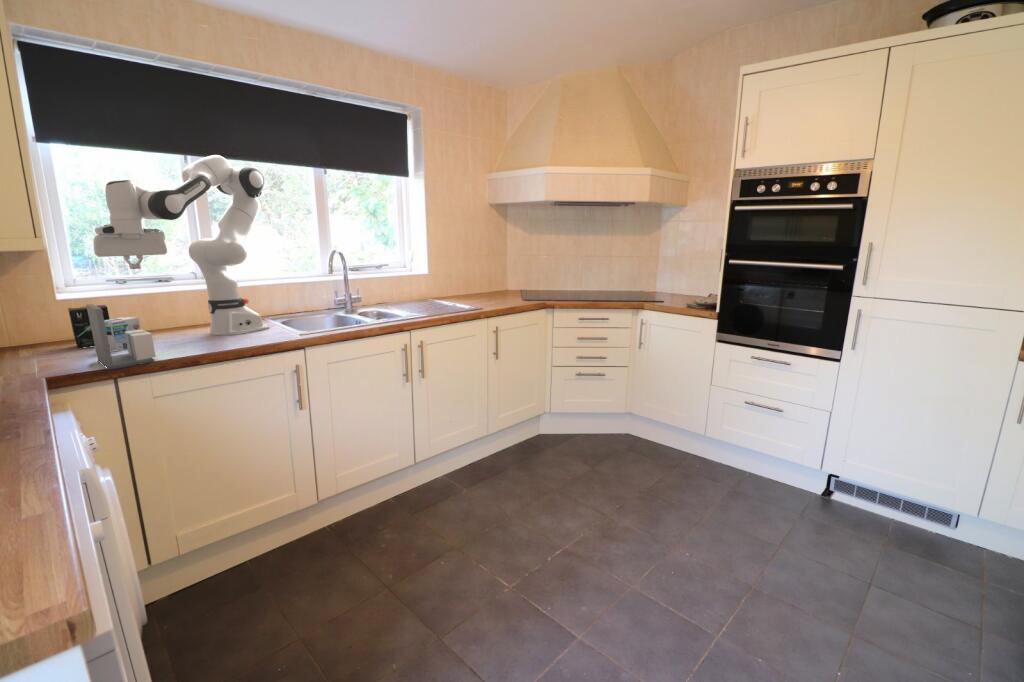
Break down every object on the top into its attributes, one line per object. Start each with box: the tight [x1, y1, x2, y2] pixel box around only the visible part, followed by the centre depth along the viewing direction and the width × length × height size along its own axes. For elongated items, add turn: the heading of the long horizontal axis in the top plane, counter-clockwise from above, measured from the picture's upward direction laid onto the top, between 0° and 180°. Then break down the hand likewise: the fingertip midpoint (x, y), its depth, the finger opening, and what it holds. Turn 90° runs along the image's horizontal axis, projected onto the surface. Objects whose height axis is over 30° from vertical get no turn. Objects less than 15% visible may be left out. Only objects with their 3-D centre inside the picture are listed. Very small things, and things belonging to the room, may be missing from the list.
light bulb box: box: [104, 316, 141, 351], centre depth 177 cm, size 11×7×11 cm, turn 168°
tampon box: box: [67, 304, 111, 349], centre depth 181 cm, size 11×9×15 cm
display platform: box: [85, 303, 155, 370], centre depth 156 cm, size 12×16×19 cm
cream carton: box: [124, 328, 157, 360], centre depth 161 cm, size 8×12×5 cm
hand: (135, 268), depth 170 cm, fingers closed
